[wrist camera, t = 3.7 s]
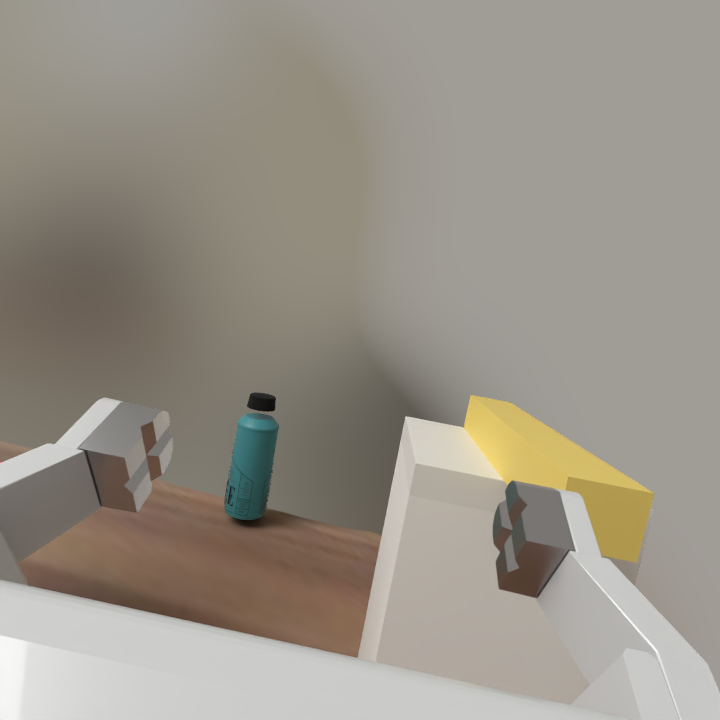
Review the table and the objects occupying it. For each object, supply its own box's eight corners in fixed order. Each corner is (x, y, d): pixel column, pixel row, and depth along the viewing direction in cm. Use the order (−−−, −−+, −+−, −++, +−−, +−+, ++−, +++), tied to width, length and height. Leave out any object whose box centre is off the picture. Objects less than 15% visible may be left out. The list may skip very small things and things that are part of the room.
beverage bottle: (272, 523, 73) (294, 398, 71) (239, 534, 67) (262, 400, 65) (245, 507, 76) (265, 388, 75) (211, 516, 71) (232, 389, 69)
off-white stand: (555, 904, 29) (653, 510, 27) (336, 852, 30) (415, 463, 27) (500, 716, 43) (562, 446, 41) (352, 683, 44) (405, 416, 41)
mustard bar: (636, 562, 19) (654, 493, 19) (552, 545, 19) (568, 476, 19) (502, 435, 41) (510, 402, 41) (463, 427, 41) (470, 394, 41)
